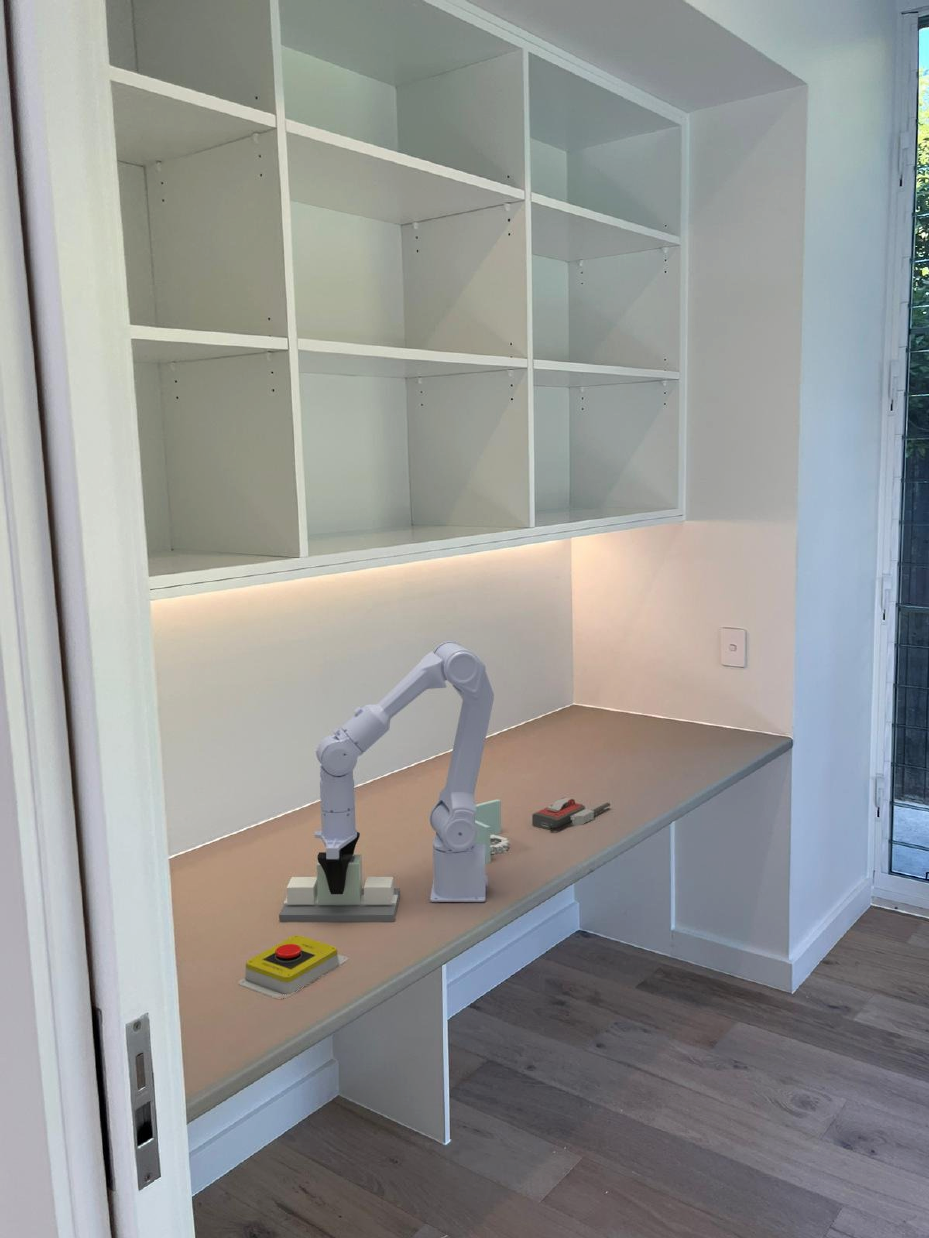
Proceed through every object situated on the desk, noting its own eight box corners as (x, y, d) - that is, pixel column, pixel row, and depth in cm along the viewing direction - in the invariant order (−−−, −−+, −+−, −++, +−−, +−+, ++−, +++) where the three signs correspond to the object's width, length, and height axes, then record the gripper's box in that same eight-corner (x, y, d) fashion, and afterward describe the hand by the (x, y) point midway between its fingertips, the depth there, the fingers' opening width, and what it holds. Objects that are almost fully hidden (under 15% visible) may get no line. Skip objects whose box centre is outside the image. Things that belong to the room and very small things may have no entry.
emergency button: (234, 958, 154) (304, 920, 166) (235, 986, 155) (305, 947, 167) (280, 975, 149) (349, 935, 161) (282, 1004, 149) (350, 962, 162)
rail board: (400, 894, 185) (399, 869, 185) (393, 921, 174) (393, 895, 174) (292, 894, 186) (291, 869, 185) (279, 921, 175) (278, 895, 174)
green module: (362, 893, 182) (361, 853, 181) (359, 904, 178) (358, 863, 177) (322, 893, 182) (320, 854, 181) (318, 904, 178) (316, 863, 177)
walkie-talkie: (562, 837, 213) (613, 811, 229) (562, 816, 212) (613, 791, 228) (526, 828, 219) (579, 803, 234) (526, 808, 218) (579, 784, 233)
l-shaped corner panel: (486, 865, 199) (486, 827, 198) (450, 847, 209) (449, 811, 208) (535, 851, 206) (535, 814, 205) (497, 834, 216) (497, 799, 215)
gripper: (321, 793, 185) (324, 867, 187) (306, 821, 171) (309, 901, 173) (361, 793, 185) (363, 867, 187) (349, 821, 170) (352, 901, 172)
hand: (340, 884), depth 180 cm, fingers open, 7 cm apart
